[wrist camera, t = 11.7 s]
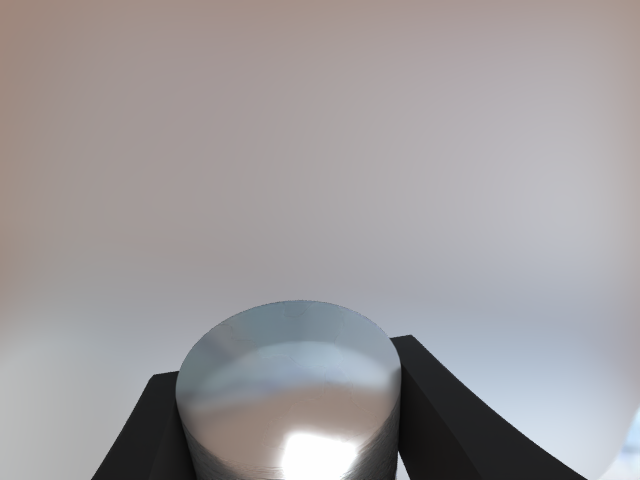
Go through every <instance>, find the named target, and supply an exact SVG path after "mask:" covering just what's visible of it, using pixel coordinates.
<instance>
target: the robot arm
mask: <svg viewBox="0 0 640 480" xmlns="http://www.w3.org/2000/svg"><path fill="white" fill-rule="evenodd" d="M389 339H390V340H391V342H392V343H393V345H394V347H395V348H396V351H397V354H398V356H399V359H400V365H401V398H400V419H399V440H398V451H399V454H400V456H401V459H402V461H403V463H404V466H405V468H406V471H407V473H408V475H409V478H410V480H587V479H586V478H584V477H583V476H581V475H580V474H578V473H576V472H575V471H574V470H572V469H571V468H569V467H568V466H566V465H565V464H563V463H562V462H561V461H559V460H558V459H556V458H555V457H553V456H552V455H550V454H549V453H548V452H546V451H545V450H544V449H542V448H540V447H539V446H538V445H537V444H535V443H534V442H533V441H531V440H530V439H529V438H527V437H526V436H525V435H524V434H522V433H521V432H520V431H518V430H517V429H516V428H515V427H513V426H512V425H511V424H510V423H508V422H507V421H506V420H505V419H503V418H502V417H501V416H500V415H499V414H497V413H496V412H495V411H494V410H492V409H491V408H490V407H489V406H488V405H486V404H485V403H484V402H483V401H482V400H481V399H480V398H479V397H478V396H476V395H475V394H474V393H473V392H472V391H471V390H470V389H468V388H467V387H466V386H465V385H464V384H463V383H462V382H461V381H459V380H458V379H457V378H456V377H455V376H454V375H453V374H452V373H451V372H450V371H449V370H448V369H447V368H445V366H443V365H442V364H441V363H440V362H439V361H438V360H437V359H436V358H435V357H434V356H433V355H432V354H431V353H430V352H429V351H428V350H427V349H426V348H425V347H424V346H423V345H422V344H421V343H420V342H419V341H418V340H417V339H416V338H415V337H413V336H412V335H406V336H400V337H394V338H389ZM178 374H179V371H175V372H168V373H162V374H156V375H153V376H152V377H151V378H150V380H149V382H148V384H147V385H146V387H145V389H144V391H143V393H142V395H141V397H140V399H139V400H138V402H137V404H136V406H135V408H134V410H133V412H132V413H131V415H130V417H129V419H128V420H127V422H126V424H125V425H124V427H123V429H122V431H121V432H120V434H119V436H118V437H117V439H116V441H115V442H114V444H113V446H112V447H111V449H110V450H109V452H108V454H107V455H106V457H105V459H104V460H103V462H102V464H101V465H100V467H99V468H98V470H97V471H96V473H95V475H94V476H93V478H92V479H91V480H197V476H196V473H195V469H194V465H193V462H192V458H191V454H190V451H189V447H188V444H187V440H186V436H185V433H184V429H183V426H182V422H181V418H180V415H179V411H178V407H177V401H176V383H177V378H178Z"/></svg>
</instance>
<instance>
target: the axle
mask: <svg viewBox="0 0 640 480" xmlns="http://www.w3.org/2000/svg"><path fill="white" fill-rule="evenodd" d="M400 398H401V365H400V359H399V356H398V354H397V351H396V348H395V347H394V345H393V343H392V342H391V340H390V339H389V337H388V336H387V335H386V334H385V333H384V332H383V330H382V329H381V328H379V327H378V326H377V325H376V324H375V323H373V322H372V321H371V320H369V319H368V318H366V317H364V316H363V315H361V314H359V313H357V312H355V311H352V310H350V309H348V308H345V307H341V306H338V305H334V304H329V303H325V302H317V301H284V302H277V303H271V304H266V305H262V306H258V307H254V308H252V309H249V310H246V311H243V312H241V313H239V314H236V315H235V316H232V317H230V318H228V319H227V320H225V321H223V322H221V323H220V324H219V325H217V326H215V327H214V328H212V329H211V330H210V331H209V332H208V333H206V334H205V335H204V336H203V337H202V338H201V339H200V340H199V341H198V342H197V343H196V344H195V345H194V346H193V348H192V349H191V351H190V352H189V353H188V355H187V357H186V358H185V360H184V362H183V363H182V366H181V369H180V371H179V374H178V378H177V383H176V401H177V407H178V411H179V415H180V418H181V422H182V426H183V429H184V433H185V436H186V440H187V444H188V447H189V451H190V454H191V458H192V462H193V465H194V469H195V473H196V476H197V480H397V461H398V440H399V419H400Z"/></svg>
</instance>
